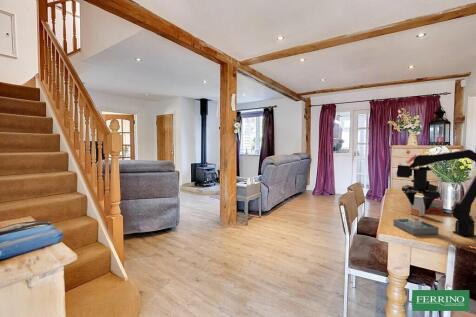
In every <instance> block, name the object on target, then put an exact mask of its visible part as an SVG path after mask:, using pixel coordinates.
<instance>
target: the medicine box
mask: <svg viewBox="0 0 476 317" xmlns="http://www.w3.org/2000/svg"><path fill="white" fill-rule="evenodd" d="M443 203H444V202H443V201H442V200H441V199H440V198H437V199H434V200H433V201H432V203H431V205H430V207H429V209H428V210H426V209H425V211H424V213H431V214H439V215H440V214H441V215H442V214H443V210H444V204H443Z"/></svg>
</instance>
